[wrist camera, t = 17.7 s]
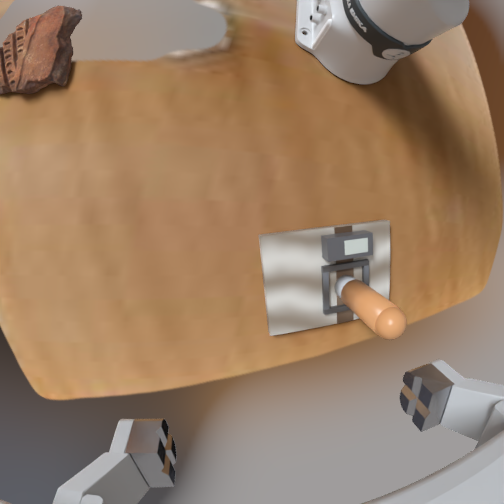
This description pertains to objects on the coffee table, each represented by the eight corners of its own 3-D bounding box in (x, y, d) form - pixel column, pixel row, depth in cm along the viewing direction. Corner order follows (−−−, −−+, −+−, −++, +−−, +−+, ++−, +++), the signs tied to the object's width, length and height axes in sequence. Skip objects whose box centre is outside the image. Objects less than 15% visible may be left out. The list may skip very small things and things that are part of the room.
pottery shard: (-6, 105, 33) (-19, 102, 30) (11, 28, 30) (0, 21, 26) (70, 86, 36) (58, 80, 32) (86, 5, 32) (78, -6, 28)
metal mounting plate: (258, 234, 43) (261, 237, 41) (384, 219, 45) (392, 221, 43) (268, 331, 47) (271, 338, 45) (383, 308, 49) (390, 313, 47)
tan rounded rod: (332, 275, 44) (385, 317, 30) (357, 271, 45) (415, 309, 30) (333, 300, 45) (382, 350, 30) (357, 296, 46) (411, 341, 31)
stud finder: (321, 235, 43) (327, 238, 41) (365, 230, 44) (373, 232, 41) (322, 257, 44) (328, 262, 41) (365, 251, 44) (373, 255, 42)
